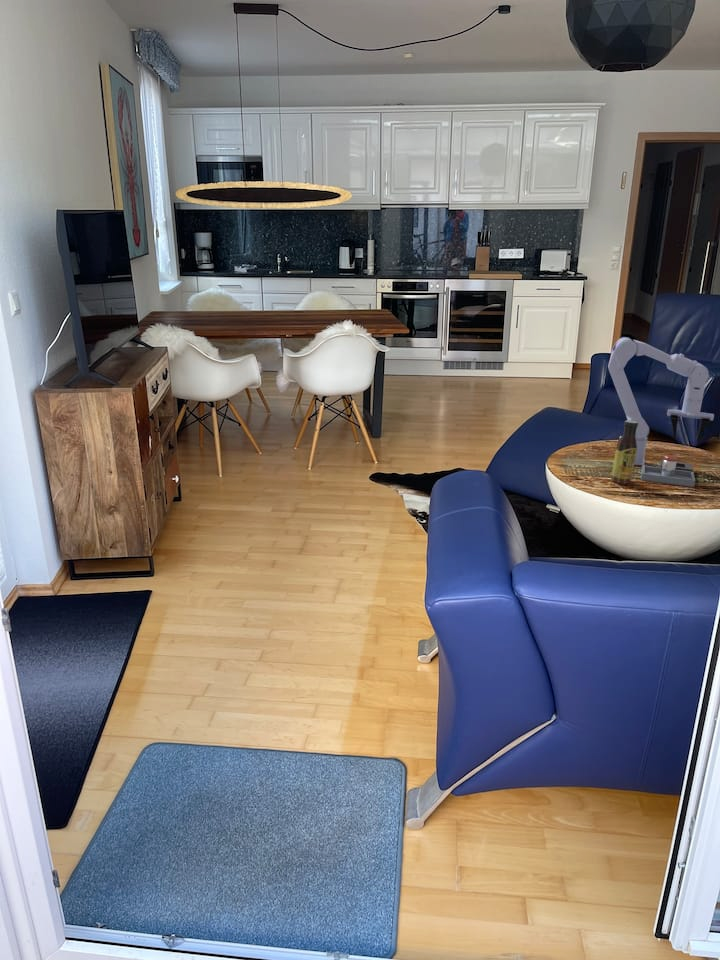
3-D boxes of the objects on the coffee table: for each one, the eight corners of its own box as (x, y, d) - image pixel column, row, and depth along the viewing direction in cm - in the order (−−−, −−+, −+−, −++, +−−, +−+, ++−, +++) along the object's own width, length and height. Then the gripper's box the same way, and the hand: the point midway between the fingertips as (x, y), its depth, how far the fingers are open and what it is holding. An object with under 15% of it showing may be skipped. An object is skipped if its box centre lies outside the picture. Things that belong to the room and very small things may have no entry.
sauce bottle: (621, 485, 229) (630, 424, 223) (606, 480, 234) (615, 420, 228) (635, 483, 232) (645, 423, 226) (620, 478, 237) (630, 418, 231)
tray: (640, 479, 236) (641, 473, 235) (641, 471, 246) (642, 465, 245) (694, 487, 231) (695, 480, 230) (692, 478, 241) (693, 471, 240)
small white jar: (660, 477, 237) (664, 457, 235) (660, 474, 241) (663, 454, 239) (673, 479, 236) (677, 459, 234) (673, 476, 239) (676, 456, 237)
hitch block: (659, 472, 245) (661, 465, 245) (659, 467, 252) (660, 460, 252) (691, 477, 242) (693, 469, 241) (690, 471, 249) (691, 464, 248)
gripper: (670, 399, 245) (663, 437, 249) (717, 403, 241) (709, 443, 245) (670, 395, 252) (663, 433, 256) (715, 400, 247) (708, 438, 251)
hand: (686, 438), depth 251 cm, fingers open, 7 cm apart
